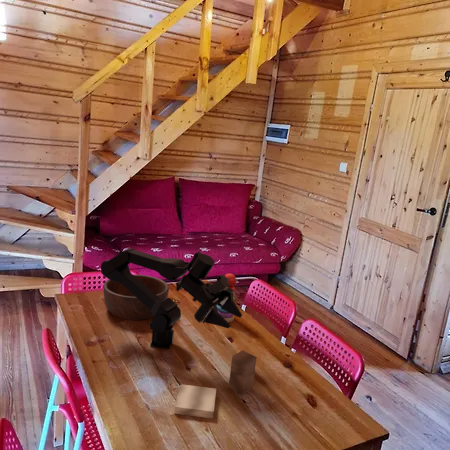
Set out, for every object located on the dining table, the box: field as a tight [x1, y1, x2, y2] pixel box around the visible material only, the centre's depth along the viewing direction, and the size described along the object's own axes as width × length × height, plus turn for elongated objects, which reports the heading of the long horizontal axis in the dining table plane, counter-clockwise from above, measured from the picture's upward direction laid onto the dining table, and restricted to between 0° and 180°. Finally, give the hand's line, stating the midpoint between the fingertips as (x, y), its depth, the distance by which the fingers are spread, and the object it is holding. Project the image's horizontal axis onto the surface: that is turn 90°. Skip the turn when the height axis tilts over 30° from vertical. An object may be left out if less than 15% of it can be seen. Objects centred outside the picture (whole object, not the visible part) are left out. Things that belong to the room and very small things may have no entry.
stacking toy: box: [217, 273, 237, 323], centre depth 166 cm, size 8×8×19 cm
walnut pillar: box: [228, 349, 257, 396], centre depth 123 cm, size 5×5×10 cm
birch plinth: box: [173, 384, 217, 419], centre depth 114 cm, size 10×10×2 cm
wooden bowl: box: [102, 274, 170, 321], centre depth 167 cm, size 25×25×10 cm
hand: (235, 321), depth 131 cm, fingers open, 9 cm apart
